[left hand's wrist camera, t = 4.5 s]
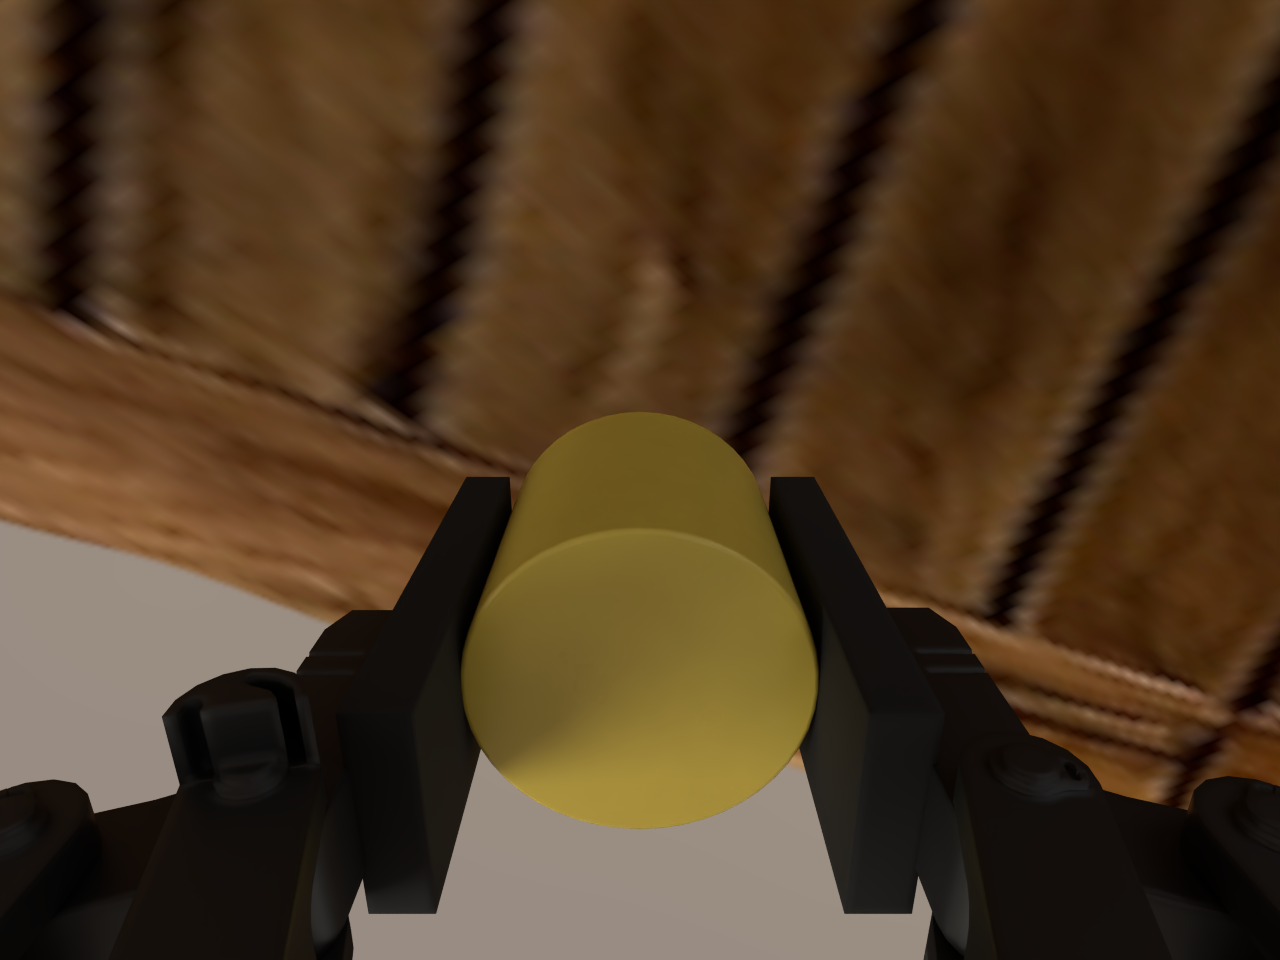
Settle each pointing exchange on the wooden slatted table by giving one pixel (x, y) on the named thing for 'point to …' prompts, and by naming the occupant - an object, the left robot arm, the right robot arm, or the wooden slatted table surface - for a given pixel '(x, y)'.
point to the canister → (639, 631)
